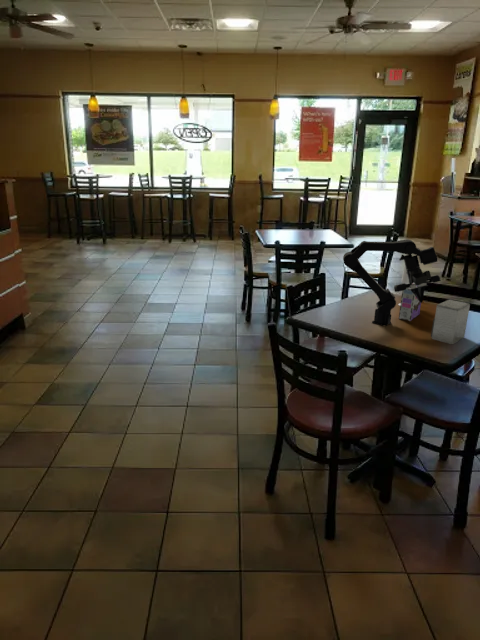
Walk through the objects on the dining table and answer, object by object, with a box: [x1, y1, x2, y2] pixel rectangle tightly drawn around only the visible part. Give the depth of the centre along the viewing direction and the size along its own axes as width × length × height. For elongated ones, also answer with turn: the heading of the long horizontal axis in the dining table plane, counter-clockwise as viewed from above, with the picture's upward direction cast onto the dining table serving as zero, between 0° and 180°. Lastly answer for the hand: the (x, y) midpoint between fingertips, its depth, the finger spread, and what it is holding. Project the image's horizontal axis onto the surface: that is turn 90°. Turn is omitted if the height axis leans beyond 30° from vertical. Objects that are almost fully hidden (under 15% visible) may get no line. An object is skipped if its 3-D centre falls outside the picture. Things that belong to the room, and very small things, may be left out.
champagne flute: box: [397, 265, 409, 307], centre depth 245 cm, size 7×7×24 cm
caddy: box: [431, 299, 471, 345], centre depth 200 cm, size 9×12×15 cm
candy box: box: [398, 283, 422, 322], centre depth 228 cm, size 14×6×16 cm, turn 143°
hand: (421, 302), depth 210 cm, fingers closed
